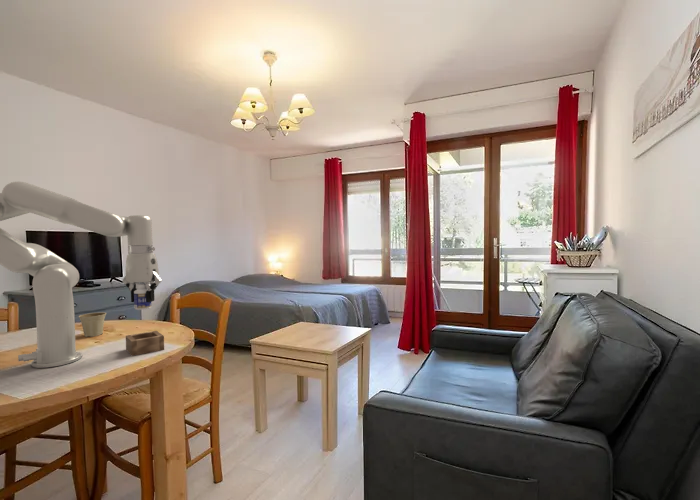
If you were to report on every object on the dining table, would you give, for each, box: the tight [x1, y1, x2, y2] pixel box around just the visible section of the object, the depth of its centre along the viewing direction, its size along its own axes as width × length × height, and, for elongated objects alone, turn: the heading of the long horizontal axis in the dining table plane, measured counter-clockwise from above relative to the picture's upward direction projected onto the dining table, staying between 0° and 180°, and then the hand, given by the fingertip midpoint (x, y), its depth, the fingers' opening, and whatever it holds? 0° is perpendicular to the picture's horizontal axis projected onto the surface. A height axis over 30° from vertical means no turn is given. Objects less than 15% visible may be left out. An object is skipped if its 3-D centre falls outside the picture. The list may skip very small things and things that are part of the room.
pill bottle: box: [133, 283, 152, 311], centre depth 125 cm, size 5×5×9 cm
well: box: [125, 330, 165, 357], centre depth 127 cm, size 10×10×5 cm
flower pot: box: [78, 311, 107, 338], centre depth 147 cm, size 9×9×9 cm
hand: (142, 301), depth 125 cm, fingers closed on pill bottle, 5 cm apart
